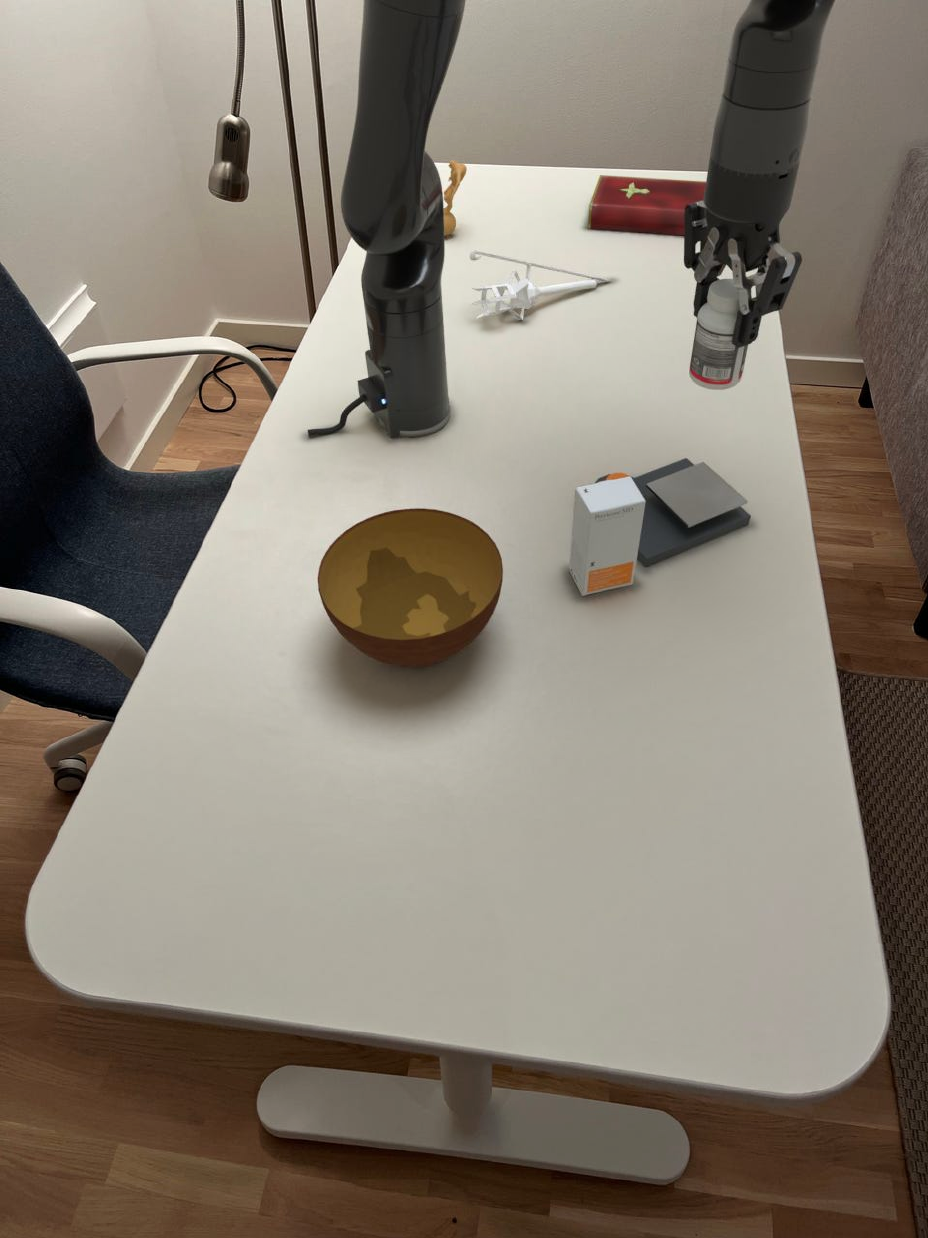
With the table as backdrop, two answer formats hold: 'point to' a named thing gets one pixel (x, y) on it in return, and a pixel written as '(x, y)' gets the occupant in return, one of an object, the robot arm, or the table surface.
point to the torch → (526, 288)
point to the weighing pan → (696, 494)
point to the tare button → (616, 476)
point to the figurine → (452, 195)
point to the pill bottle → (717, 340)
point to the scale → (676, 521)
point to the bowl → (411, 585)
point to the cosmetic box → (606, 535)
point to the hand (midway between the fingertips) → (723, 329)
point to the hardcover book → (642, 204)
